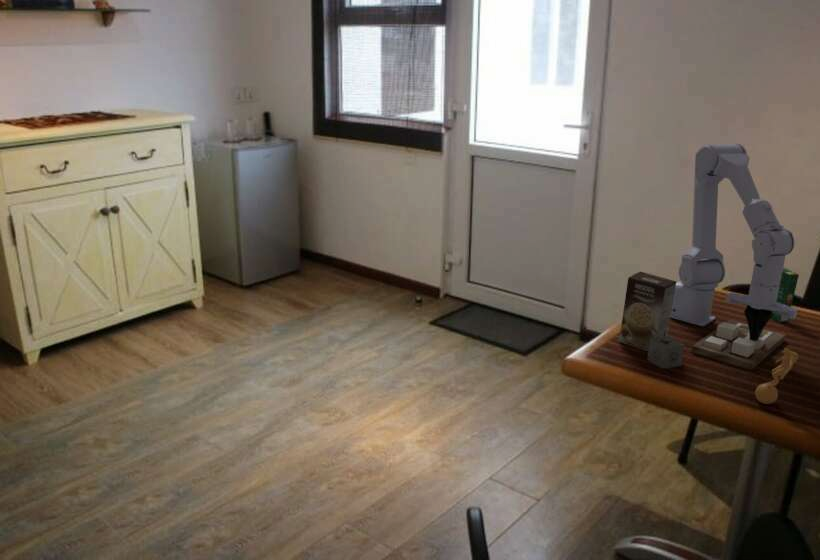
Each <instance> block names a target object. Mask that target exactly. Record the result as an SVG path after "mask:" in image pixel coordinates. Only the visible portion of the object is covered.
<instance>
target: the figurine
mask: <svg viewBox="0 0 820 560" xmlns="http://www.w3.org/2000/svg"><path fill="white" fill-rule="evenodd" d="M782 353H783V356H781V357H779V358H778V359H776V360H775V364H778V363H779V362H781V364H780V365H778V366H777V367H775V368H773V369H772V370H771V374H772V378H773V380H771V381H768V382H765V383H764V382H763V383H760V384H759V385H758V386H756V388H755V391H754V394H755V395H754V396H755V397H756V399H757V400H758V401H759V402H760V403H761V404H764V405H771V404H773V403H775V402H776V401H777V399H778V396H779V391H778V390H777V387H776V386H777V385H778V384H779V381H780V380H781V381H782V380H784V378H785V376H786V375H787V374H788V373H789V372H790V371H791V369H792V368H793V366H794V364H795V363H797V361H798V360H799V355H798V353H797V352H795V351H792V350H790V349H789V348H788V347H785V348H784V349H783V350H782Z"/></svg>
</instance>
